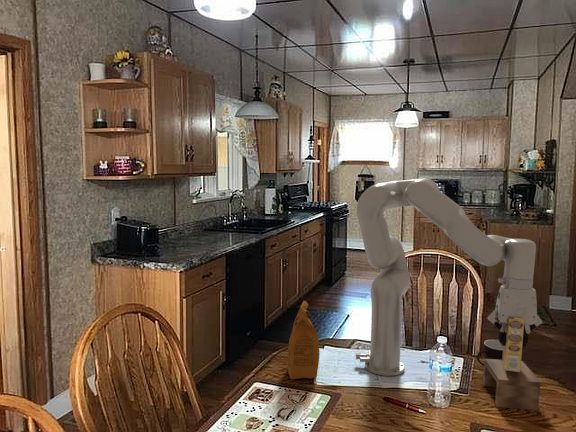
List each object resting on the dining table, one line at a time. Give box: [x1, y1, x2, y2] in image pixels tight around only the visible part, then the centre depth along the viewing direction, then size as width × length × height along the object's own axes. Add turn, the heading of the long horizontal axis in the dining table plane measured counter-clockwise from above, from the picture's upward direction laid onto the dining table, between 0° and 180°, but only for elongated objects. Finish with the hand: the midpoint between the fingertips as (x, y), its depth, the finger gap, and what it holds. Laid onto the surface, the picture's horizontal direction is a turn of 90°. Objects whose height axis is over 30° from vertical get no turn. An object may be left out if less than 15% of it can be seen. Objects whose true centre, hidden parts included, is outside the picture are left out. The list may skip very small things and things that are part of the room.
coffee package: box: [286, 300, 320, 380], centre depth 158 cm, size 10×12×22 cm
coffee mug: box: [476, 339, 503, 367], centre depth 159 cm, size 12×9×10 cm
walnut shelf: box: [482, 358, 542, 411], centre depth 145 cm, size 11×14×8 cm
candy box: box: [503, 317, 524, 372], centre depth 144 cm, size 9×4×15 cm, turn 163°
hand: (512, 344), depth 144 cm, fingers closed on candy box, 4 cm apart
